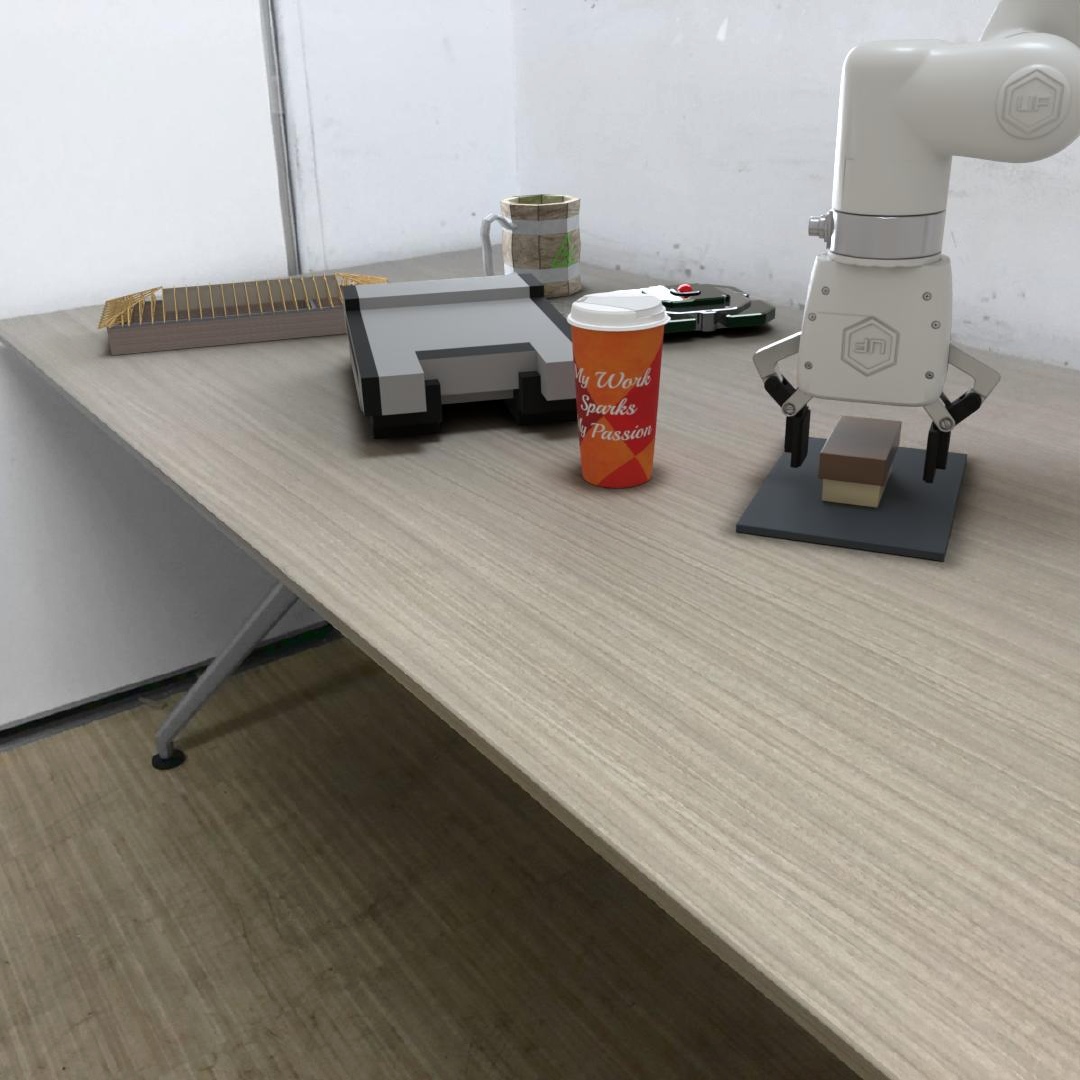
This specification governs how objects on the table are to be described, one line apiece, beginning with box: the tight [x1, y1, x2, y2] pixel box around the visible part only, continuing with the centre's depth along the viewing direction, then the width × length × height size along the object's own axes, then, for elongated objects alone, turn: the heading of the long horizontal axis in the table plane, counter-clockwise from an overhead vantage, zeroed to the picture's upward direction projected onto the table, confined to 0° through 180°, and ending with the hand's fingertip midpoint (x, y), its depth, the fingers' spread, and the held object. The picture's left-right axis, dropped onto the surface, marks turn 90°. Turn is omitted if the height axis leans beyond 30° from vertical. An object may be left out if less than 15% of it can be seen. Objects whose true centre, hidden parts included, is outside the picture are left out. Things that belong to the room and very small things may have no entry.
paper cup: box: [566, 291, 671, 489], centre depth 86 cm, size 8×8×14 cm
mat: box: [735, 436, 968, 562], centre depth 84 cm, size 20×14×1 cm
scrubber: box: [818, 414, 903, 508], centre depth 83 cm, size 9×5×4 cm, turn 157°
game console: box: [341, 273, 578, 439], centre depth 109 cm, size 21×32×8 cm, turn 12°
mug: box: [479, 193, 583, 299], centre depth 150 cm, size 16×11×12 cm
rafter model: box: [96, 271, 391, 356], centre depth 136 cm, size 35×14×6 cm, turn 106°
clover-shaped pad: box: [611, 282, 777, 334], centre depth 134 cm, size 18×18×5 cm
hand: (862, 469), depth 84 cm, fingers open, 9 cm apart
